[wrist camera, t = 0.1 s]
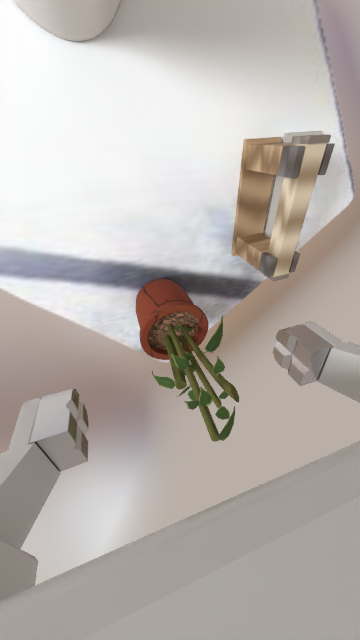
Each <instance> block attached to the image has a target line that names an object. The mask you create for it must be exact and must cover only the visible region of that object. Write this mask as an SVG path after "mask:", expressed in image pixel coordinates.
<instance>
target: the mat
mask: <svg viewBox="0 0 360 640" xmlns="http://www.w3.org/2000/svg"><path fill="white" fill-rule="evenodd" d="M322 132H323V131H312V132H296V133H284V136H283V141H282V142H285V143H291V141H292V136H306V135H322ZM283 180H284V177H282V176H277V175H276V177H275V182H274V187H273V192H272V197H271V202H270V207H269V212H268V217H267V222H266V228H265V233H264V235H266V236H268V237H270V238H271V236H272V231H273V226H274V222H275V217H276V213H277V208H278V203H279V199H280V194H281V190H282V185H283Z"/></svg>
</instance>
